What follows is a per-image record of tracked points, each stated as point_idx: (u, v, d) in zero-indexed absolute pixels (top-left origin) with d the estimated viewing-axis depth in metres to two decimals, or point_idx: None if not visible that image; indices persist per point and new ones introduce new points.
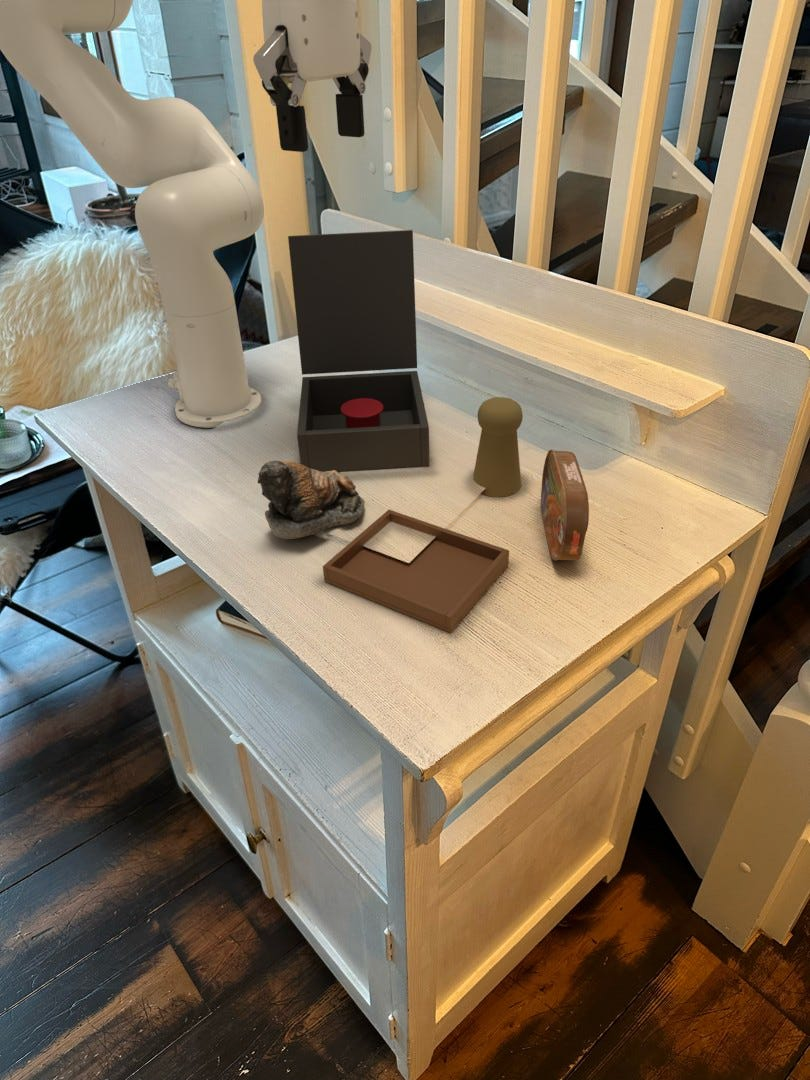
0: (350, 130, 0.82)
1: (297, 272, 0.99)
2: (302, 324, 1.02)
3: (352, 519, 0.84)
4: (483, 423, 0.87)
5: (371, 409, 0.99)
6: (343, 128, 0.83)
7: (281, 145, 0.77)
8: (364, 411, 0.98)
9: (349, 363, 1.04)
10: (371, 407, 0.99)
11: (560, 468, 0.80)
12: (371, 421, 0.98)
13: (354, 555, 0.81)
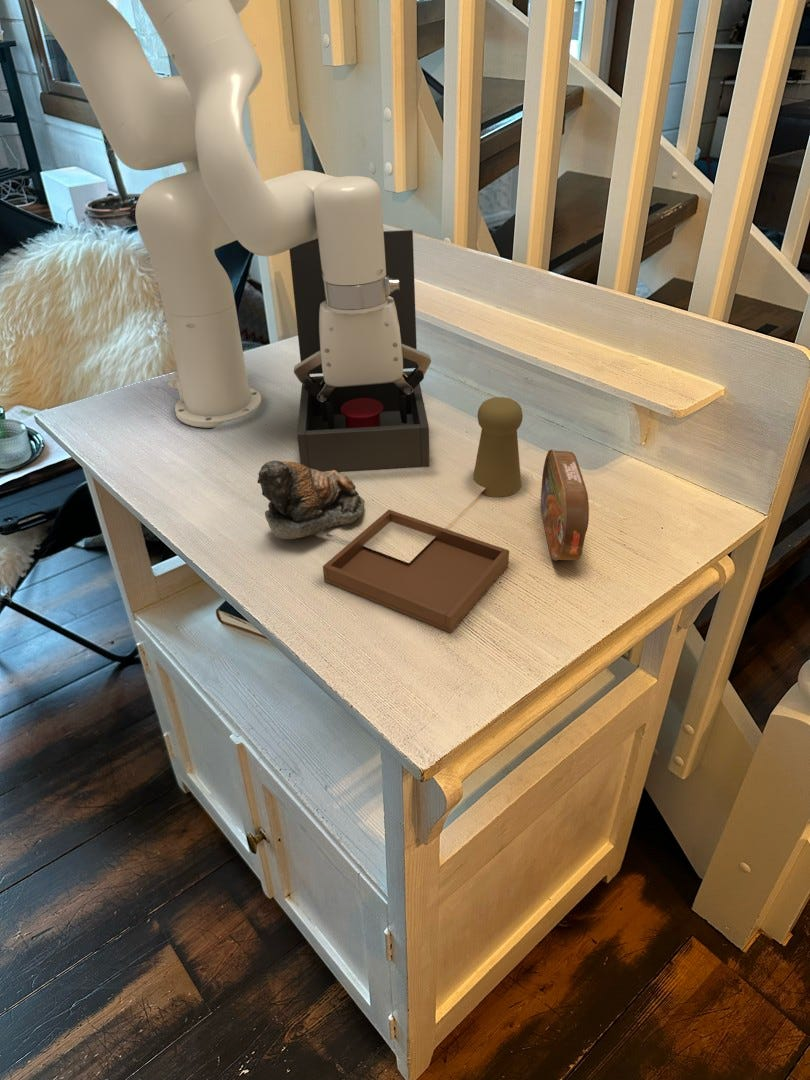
0: None
1: (297, 272, 0.99)
2: (302, 324, 1.02)
3: (352, 519, 0.84)
4: (483, 423, 0.87)
5: (371, 409, 0.99)
6: (400, 411, 1.00)
7: None
8: (364, 411, 0.98)
9: None
10: (371, 407, 0.99)
11: (560, 468, 0.80)
12: (371, 421, 0.98)
13: (354, 555, 0.81)
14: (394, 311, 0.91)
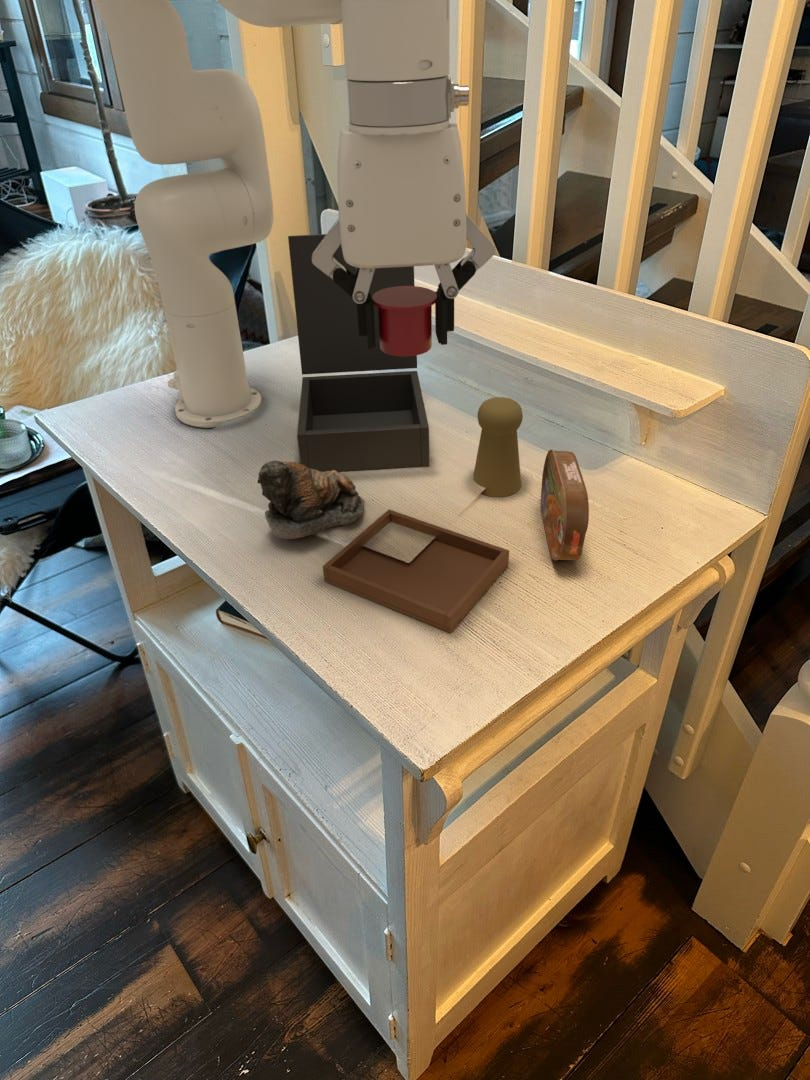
0: (437, 333, 0.66)
1: (297, 272, 0.99)
2: (302, 324, 1.02)
3: (352, 519, 0.84)
4: (483, 423, 0.87)
5: (419, 298, 0.64)
6: (436, 328, 0.67)
7: None
8: (409, 300, 0.64)
9: (349, 363, 1.04)
10: (418, 296, 0.65)
11: (560, 468, 0.80)
12: (420, 315, 0.64)
13: (354, 555, 0.81)
14: (459, 141, 0.57)
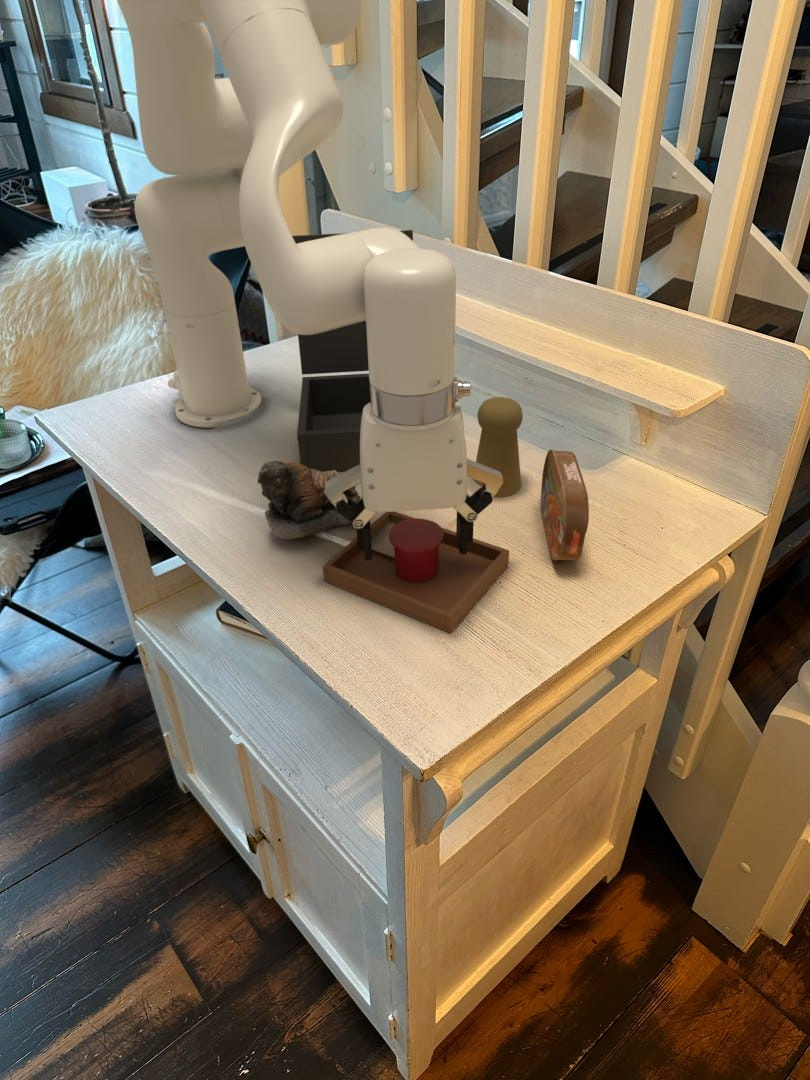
0: (458, 543, 0.78)
1: None
2: None
3: None
4: (483, 423, 0.87)
5: (428, 537, 0.76)
6: (457, 536, 0.78)
7: None
8: (420, 540, 0.76)
9: (349, 363, 1.04)
10: (428, 534, 0.77)
11: (560, 468, 0.80)
12: (429, 553, 0.76)
13: (354, 555, 0.81)
14: (461, 423, 0.68)
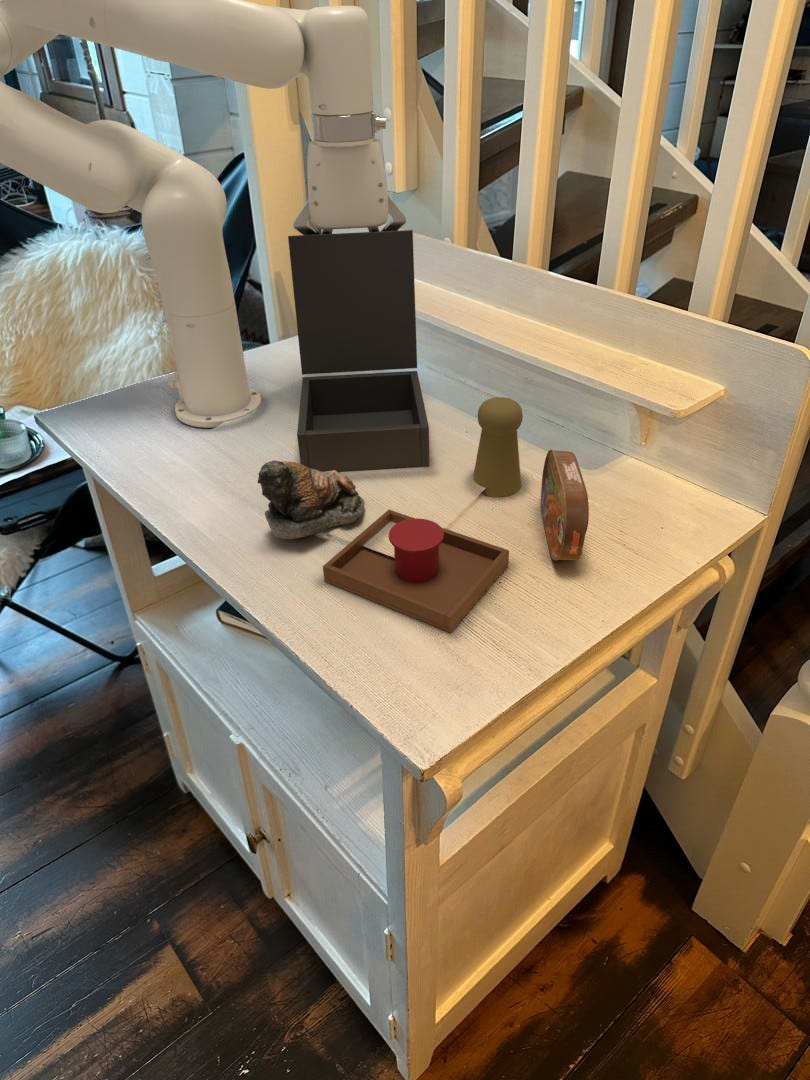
0: None
1: (297, 272, 0.99)
2: (302, 324, 1.02)
3: (352, 519, 0.84)
4: (483, 423, 0.87)
5: (428, 537, 0.76)
6: None
7: None
8: (420, 540, 0.76)
9: (349, 363, 1.04)
10: (428, 534, 0.77)
11: (560, 468, 0.80)
12: (429, 553, 0.76)
13: (354, 555, 0.81)
14: (380, 150, 0.93)
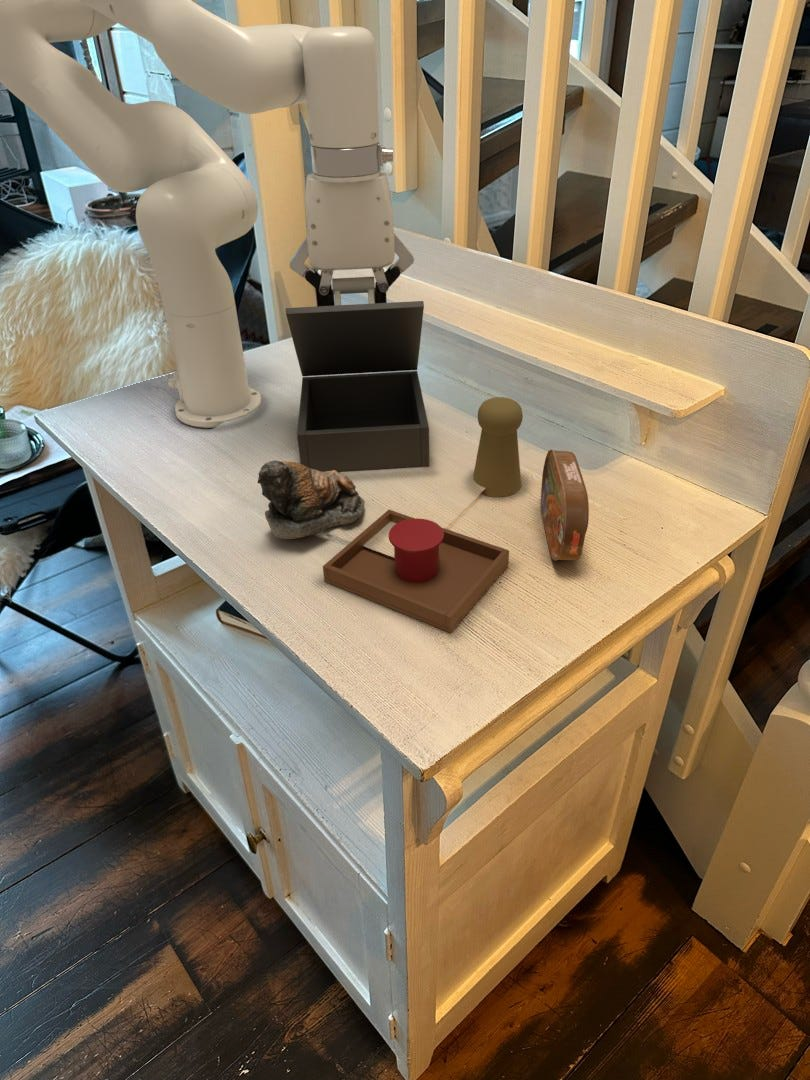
0: None
1: (296, 331, 0.92)
2: (302, 355, 0.98)
3: (352, 519, 0.84)
4: (483, 423, 0.87)
5: (428, 537, 0.76)
6: None
7: None
8: (420, 540, 0.76)
9: (349, 370, 1.04)
10: (428, 534, 0.77)
11: (560, 468, 0.80)
12: (429, 553, 0.76)
13: (354, 555, 0.81)
14: (387, 185, 0.84)
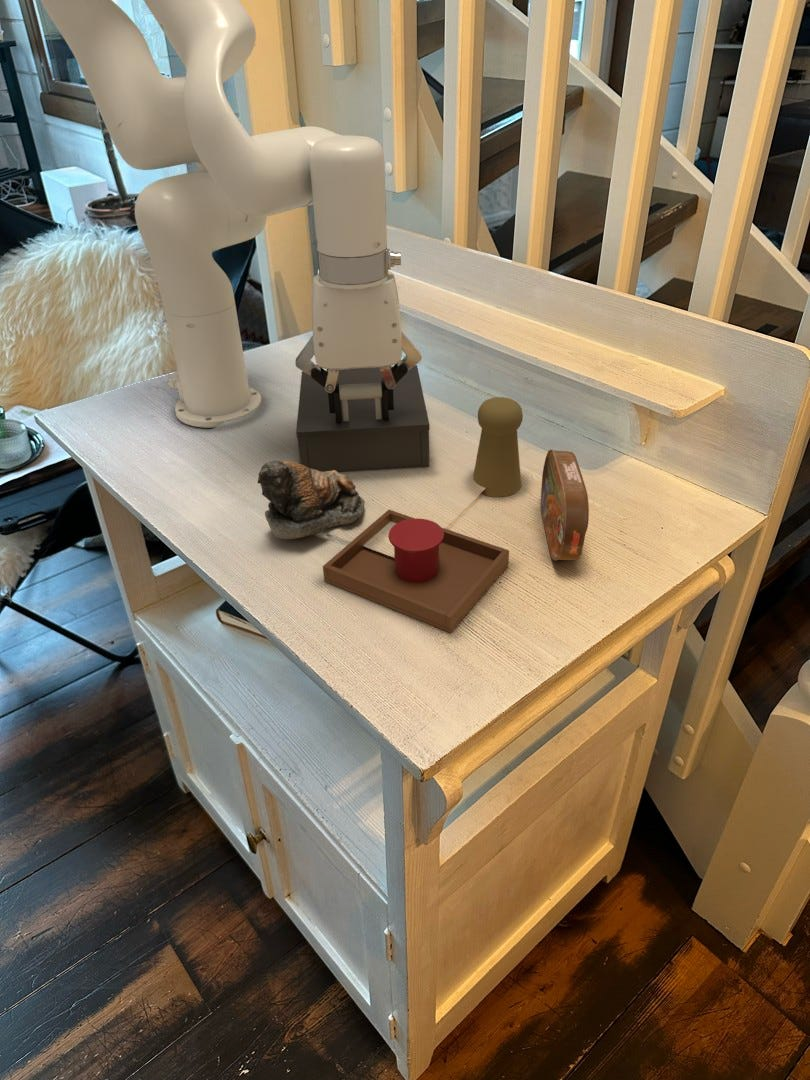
0: None
1: None
2: None
3: (352, 519, 0.84)
4: (483, 423, 0.87)
5: (428, 537, 0.76)
6: (381, 406, 0.93)
7: None
8: (420, 540, 0.76)
9: None
10: (428, 534, 0.77)
11: (560, 468, 0.80)
12: (429, 553, 0.76)
13: (354, 555, 0.81)
14: (394, 288, 0.83)
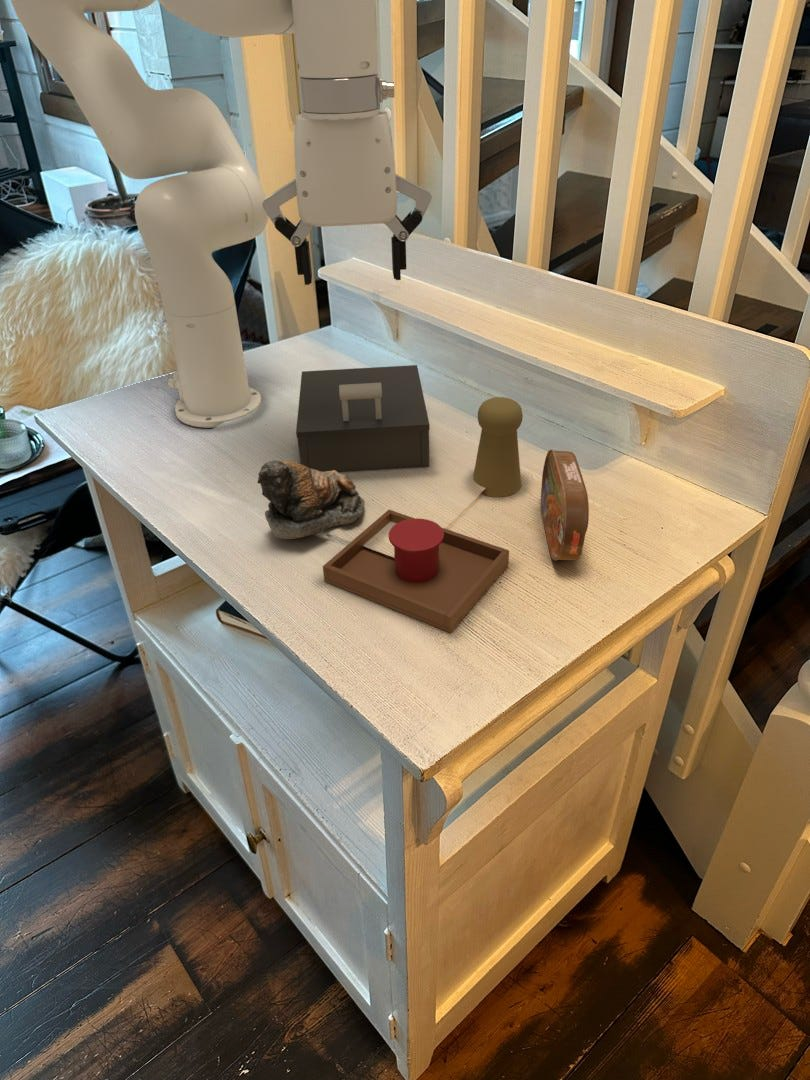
0: (393, 271, 0.82)
1: None
2: None
3: (352, 519, 0.84)
4: (483, 423, 0.87)
5: (428, 537, 0.76)
6: (392, 267, 0.83)
7: None
8: (420, 540, 0.76)
9: None
10: (428, 534, 0.77)
11: (560, 468, 0.80)
12: (429, 553, 0.76)
13: (354, 555, 0.81)
14: (387, 125, 0.73)
